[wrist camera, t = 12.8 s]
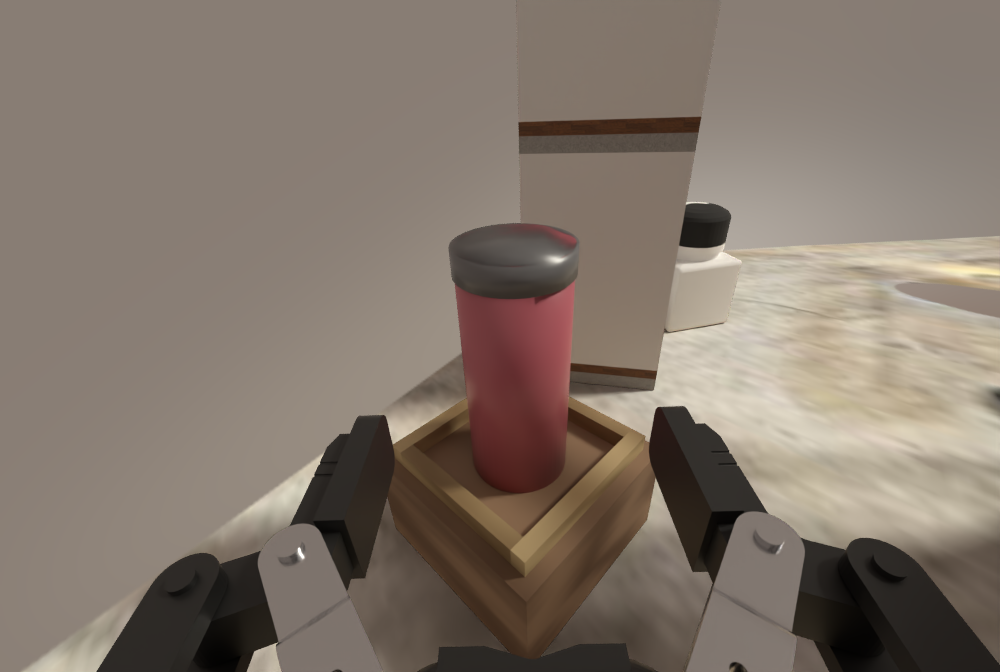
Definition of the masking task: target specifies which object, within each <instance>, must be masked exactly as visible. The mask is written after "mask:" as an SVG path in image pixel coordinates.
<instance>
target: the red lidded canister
mask: <svg viewBox="0 0 1000 672" xmlns="http://www.w3.org/2000/svg"><path fill="white" fill-rule="evenodd" d="M579 246H580V242H579V240H578V238H577V237H576V236H575V235H574V234H572V233H570V232H568V231H566V230H563V229H561V228H557V227H553V226H548V225H541V224H530V223H510V224H498V225H491V226H485V227H481V228H477V229H473V230H470V231H467V232H465V233H463V234H461V235H459V236H457V237H455V238H454V239H453V240H452V241H451V242H450V244H449V257H450V266H451V275H452V280H453V282H454V283H455V289H456V299H457V309H458V318H459V327H460V337H461V346H462V356H463V366H464V375H465V385H466V394H467V404H468V413H469V423H470V432H471V442H472V451H473V461H474V466H475V469H476V471H477V473H478V474H479V476H480V477H481V478H482V479H483V480H484V481H485V482H486V483H488V484H489V485H490V486H492V487H494V488H496V489H499V490H501V491H505V492H509V493H529V492H534V491H537V490H540V489H543V488H545V487H547V486H548V485H550V484H551V483H553V482H554V481H555V480H556V479H557V478H558V477H559V476H560V474H561V473H562V471H563V468H564V465H565V458H566V440H567V421H568V403H569V384H570V365H571V347H572V328H573V310H574V291H575V279H576V278H577V275H578V263H579Z"/></svg>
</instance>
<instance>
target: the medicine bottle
mask: <svg viewBox="0 0 1000 672" xmlns="http://www.w3.org/2000/svg"><path fill="white" fill-rule="evenodd" d="M730 220H731V214H730V213H729V211H728V210H726V209H724V208H723V207H721V206H719V205H716V204H711V203H703V202H686V207H685V213H684V219H683V225H682V230H681V236H680V242H679V248H678V253H677V259H676V265H675V271H674V276H673V282H672V288H671V294H670V300H669V305H668V311H667V317H666V323H665V328H664V329H666V330H667V331H668V332H673V331H679V330H685V329H690V328H696V327H702V326H708V325H714V324H719V323H724V322H726V321H727V318H728V314H729V310H730V306H731V302H732V299H733V295H734V291H735V287H736V283H737V279H738V275H739V271H740V267H741V261H740V260H739V259H736V258H734V257H732V256H730V255H728V254H726V253H724V252H722V251H723V249H724V245H725V241H726V237H727V233H728V228H729V224H730Z"/></svg>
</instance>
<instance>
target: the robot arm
mask: <svg viewBox="0 0 1000 672" xmlns="http://www.w3.org/2000/svg"><path fill="white" fill-rule="evenodd" d="M649 458H650V463H651V466H652V469H653V471H654V474H655V477H656V479H657V482H658V484H659V487H660V489H661V492H662V494H663V497H664V500H665V502H666V505H667V507H668V510H669V512H670V515H671V517H672V520H673V523H674V525H675V528H676V530H677V533H678V535H679V538H680V540H681V543H682V546H683V548H684V551H685V553H686V556H687V558H688V561H689V563H690V566H691V569H692V571H693V572H708V573H709V575H710V578H711V580H712V582H713V584H712V587H711V589H710V592H709V595H708V598H707V601H706V604H705V607H704V610H703V613H702V616H701V619H700V622H699V625H698V628H697V631H696V634H695V637H694V640H693V643H692V646H691V649H690V652H689V655H688V657H687V660H686V663H685V666H684V669H683V672H792V671H793V664H794V658H795V652H796V643H797V637H796V635H798V636H801V637H804V638H807V639H810V640H814V642H815V644H816V646H817V648H818V650H819V652H820V654H821V656H822V658H823V660H824V662H825V664H826V666H827V668H828V670H829V672H1000V665H999V663H998V662H997V661H996V660H995V658H994V657H993V656H992V655H991V653H990V652H989V651H988V650H987V648H986V647H985V646H984V645H983V643H982V642H981V641H980V640H979V638H978V637H977V636H976V635H975V633H974V632H973V631H972V630H971V628H970V627H969V626H968V625H967V623H966V622H965V621H964V620H963V618H962V617H961V616H960V615H959V613H958V612H957V611H956V610H955V608H954V607H953V606H952V605H951V603H950V602H949V601H948V600H947V598H946V597H945V596H944V595H943V593H942V592H941V591H940V590H939V588H938V587H937V586H936V585H935V583H934V582H933V581H932V580H931V578H930V577H929V576H928V575H927V573H926V572H925V571H924V570H923V569H922V567H921V566H920V565H919V564H918V563H917V562H916V561H915V560H914V559H913V558H911V557H910V556H909V555H907V554H906V553H905V552H903V551H901V550H900V549H898V548H896V547H894V546H893V545H890V544H888V543H886V542H883V541H880V540H876V539H872V538H859V539H855V540H854V541H852V542H851V543H850V544H849V545H848V547H847V549H846V550H844V549H840V548H836V547H832V546H828V545H824V544H820V543H816V542H812V541H809V540H805V539H803V538H800V537H799V535H798V534H797V533H796V532H795V530H793V529H792V528H791V527H790V526H789V525H788V524H787V523H785V522H784V521H782V520H781V519H779V518H777V517H775V516H772V515H770V514H768V513H767V511H766V510H765V508H764V506H763V505H762V503H761V501H760V500H759V498H758V497H757V495H756V493H755V492H754V490H753V489H752V487H751V485H750V484H749V482H748V480H747V479H746V477H745V476H744V474H743V472H742V471H741V469H740V467H739V466H737V463H736V461H735V459H734V458H733V456H732V454H730V453H729V450H728V448H727V446H726V445H725V443H724V442H723V440H722V438H721V437H720V436H719V435H718V434H717V433H716V432H715V431H713V430H712V429H711V428H710V427H709V426H707V425H706V424H705V423H704V424H695V422H694V420H693V419H692V417H691V415H690V413H689V412H688V410H687V408H686V407H684V406H675V407H657V409H656V411H655V415H654V421H653V426H652V432H651V437H650V442H649ZM394 467H395V454H394V449H393V444H392V440H391V436H390V432H389V427H388V423H387V419H386V417H385V416H384V415H372V416H358V417H357V419H356V421H355V423H354V426H353V428H352V430H351V433H350V434H340V435H339V436H338V437H337V438H336V439H335V440H334V441H333V442H332V443H331V444H330V445H329V446H328V447H327V449H326V451H325V453H324V455H323V457H322V459H321V461H320V465H318V468H317V470H316V472H315V474H314V475H315V476H314V477H313V478H312V480H311V482H310V485H309V487H308V489H307V491H306V493H305V495H304V497H303V499H302V501H301V504H300V506H299V508H298V510H297V512H296V514H295V516H294V518H293V520H292V523H291V524H290V526H289V527H287V528H285V529H283V530H281V531H279V532H278V533H276V534H275V535H274V536H273V537H272V538H270V539H269V540H268V542H267V543H266V544H265V545H264V547H263V548H262V550H261V551H259V552H256V553H254V554H251V555H247V556H244V557H241V558H238V559H235V560H232V561H228V562H225V563H222V564H220V563H219V562H218V560H217V559H216V558H215V557H214V556H213V555H211V554H207V553H199V554H193V555H190V556H187V557H185V558H182V559H181V560H179V561H177V562H175V563H174V564H172V565H171V566H169V567H168V568H167V569H165V570H164V571H163V572H162V573H161V574H160V575H159V576H158V577H157V578H156V579H155V581H154V582H153V584H152V585H151V586H150V588H149V590H148V591H147V593H146V594H145V596H144V597H143V599H142V601H141V602H140V604H139V605H138V607H137V608H136V610H135V612H134V613H133V615H132V616H131V618H130V620H129V621H128V623H127V624H126V626H125V627H124V629H123V631H122V632H121V634H120V635H119V637H118V638H117V640H116V642H115V643H114V645H113V646H112V648H111V650H110V651H109V653H108V654H107V656H106V657H105V659H104V661H103V662H102V664H101V665H100V667H99V668H98V670H97V672H247V669H248V667H249V664H250V661H251V659H252V656H253V653H254V651H256V650H258V649H261V648H264V647H267V646H269V645H272V644H275V643H277V642H278V644H277V645H276V651H277V656H278V660H279V664H280V667H281V671H282V672H383V670H382V668H381V666H380V663H379V661H378V659H377V657H376V654H375V652H374V650H373V648H372V645H371V643H370V641H369V639H368V636H367V634H366V632H365V630H364V628H363V625H362V623H361V621H360V619H359V616H358V614H357V612H356V610H355V607H354V605H353V603H352V601H351V599H350V597H349V595H348V593H347V590H348V587H349V583H350V580H351V579H357V578H365V576H366V572H367V568H368V565H369V561H370V557H371V554H372V550H373V546H374V543H375V539H376V535H377V532H378V528H379V524H380V521H381V517H382V513H383V510H384V506H385V502H386V499H387V495H388V491H389V488H390V484H391V480H392V477H393V473H394ZM417 672H658V671H656V670H654V669H652V668H651V667H649V666H647V665H645V664H642V663H640V662H638V661H635V660H631V659H629V657H628V652H627V648H626V643H625V644H579V645H576V646H573V647H570V648H567V649H564V650H561V651H558V652H555V653H552V654H549V655H546V656H543V657H540V658H537V659H527V658H524V657H520V656H517V655H513V654H510V653H506V652H503V651H499V650H496V649H492V648H489V647H485V646H475V647H439V655H438V662H437V663H434V664H431V665H429V666H427V667H425V668H423V669H421V670H419V671H417Z"/></svg>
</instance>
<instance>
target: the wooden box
mask: <svg viewBox="0 0 1000 672" xmlns="http://www.w3.org/2000/svg"><path fill="white" fill-rule="evenodd" d="M393 449H394V454H395V467H394V473H393V477H392V480H391V484H390V488H389V491H388V495H387V497H388V501H389V504H390V508H391V512H392V516H393V519H394V523H395V527H396V528H397V530H398V531H399V532H400V533H401V534H402V535H403V536H404V537H405V538H406V539H407V540H408V542H409V543H410V544H411V545H412V546H413V547H414V548H415V549H416V550H417V551H418V552H419V554H420V555H421V556H422V557H423V558H424V559H425V560H426V561H427V562H428V563H429V564H430V566H431V567H432V568H433V569H434V570H435V571H436V572H437V573H438V574H439V575H440V576H441V578H442V579H443V580H444V581H445V582H446V583H447V584H448V585H449V586H450V587H451V588H452V590H453V591H454V592H455V593H456V594H457V595H458V596H459V597H460V598H461V599H462V600H463V602H464V603H465V604H466V605H467V606H468V607H469V608H470V609H471V610H472V611H473V612H474V614H475V615H476V616H477V617H478V618H479V619H480V620H481V621H482V622H483V623H484V624H485V626H486V627H487V628H488V629H489V630H490V631H491V632H492V633H493V634H494V635H495V636H496V638H497V639H498V640H499V641H500V642H501V643H502V644H503V645H504V646H505V647H506V648H507V650H508V651H509V652H510V653H511V654H513V655H517V656H520V657H524V658H527V659H537V658H540V656H541V655H542V654H543V653H544V651H545V650H546V649H547V647H548V646H549V645H550V644H551V642H552V641H553V640H554V638H555V637H556V636H557V635H558V633H559V632H560V631H561V629H562V628H563V627H564V626H565V624H566V623H567V622H568V620H569V619H570V618H571V617H572V615H573V614H574V613H575V611H576V610H577V609H578V608H579V606H580V605H581V604H582V602H583V601H584V600H585V599H586V597H587V596H588V595H589V593H590V592H591V591H592V590H593V588H594V587H595V586H596V584H597V583H598V582H599V581H600V579H601V578H602V577H603V575H604V574H605V573H606V572H607V570H608V569H609V568H610V567H611V565H612V564H613V563H614V561H615V560H616V559H617V558H618V556H619V555H620V554H621V552H622V551H623V550H624V549H625V547H626V546H627V545H628V543H629V542H630V541H631V540H632V538H633V537H634V536H635V534H636V533H637V532H638V531H639V529H640V528H641V527H642V525H643V524H644V523H645V522H646V520H647V517H648V512H649V507H650V502H651V498H652V493H653V488H654V483H655V478H656V477H655V474H654V471H653V469H652V466H651V463H650V458H649V442H647V441H645V436H644V435H642V434H640V433H638V432H637V431H635V430H633V429H631V428H629V427H627V426H625V425H623V424H621V423H619V422H617V421H615V420H613V419H612V418H610V417H608V416H606V415H604V414H602V413H600V412H598V411H596V410H594V409H592V408H590V407H588V406H587V405H585V404H583V403H581V402H579V401H577V400H575V399H573V398H571V397H569V403H568V421H567V440H566V458H565V465H564V468H563V471H562V473H561V474H560V476H559V477H558V478H557V479H556V480H555V481H554V482H553V483H551V484H550V485H548V486H547V487H545V488H543V489H540V490H537V491H534V492H529V493H509V492H505V491H501V490H499V489H496V488H494V487H492V486H490V485H489V484H488V483H486V482H485V481H484V480H483V479H482V478H481V477H480V476H479V474H478V473H477V471H476V469H475V466H474V461H473V451H472V442H471V432H470V423H469V413H468V404H467V398H466V399H464V400H462V401H461V402H459V403H458V404H456V405H455V406H453V407H451V408H450V409H448V410H447V411H445V412H444V413H442V414H440V415H439V416H437V417H436V418H434V419H433V420H431V421H429V422H428V423H426V424H425V425H423V426H422V427H420V428H418V429H417V430H415V431H414V432H412V433H411V434H409V435H407V436H406V437H404V438H403V439H401V440H400V441H398V442H396V443H395V444H393Z"/></svg>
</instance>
